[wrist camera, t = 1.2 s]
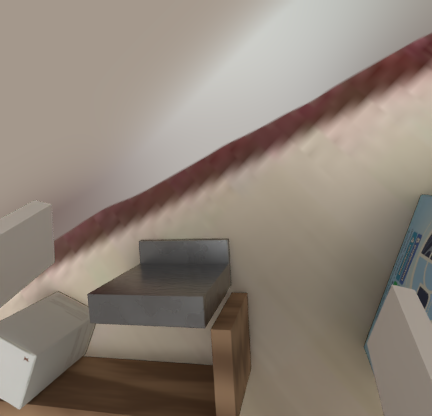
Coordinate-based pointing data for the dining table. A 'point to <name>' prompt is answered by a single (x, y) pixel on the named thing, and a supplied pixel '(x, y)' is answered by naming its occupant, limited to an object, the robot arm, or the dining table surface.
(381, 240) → the dining table surface
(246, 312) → the shelf
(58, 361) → the supplement box
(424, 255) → the gum box
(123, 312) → the bookend
